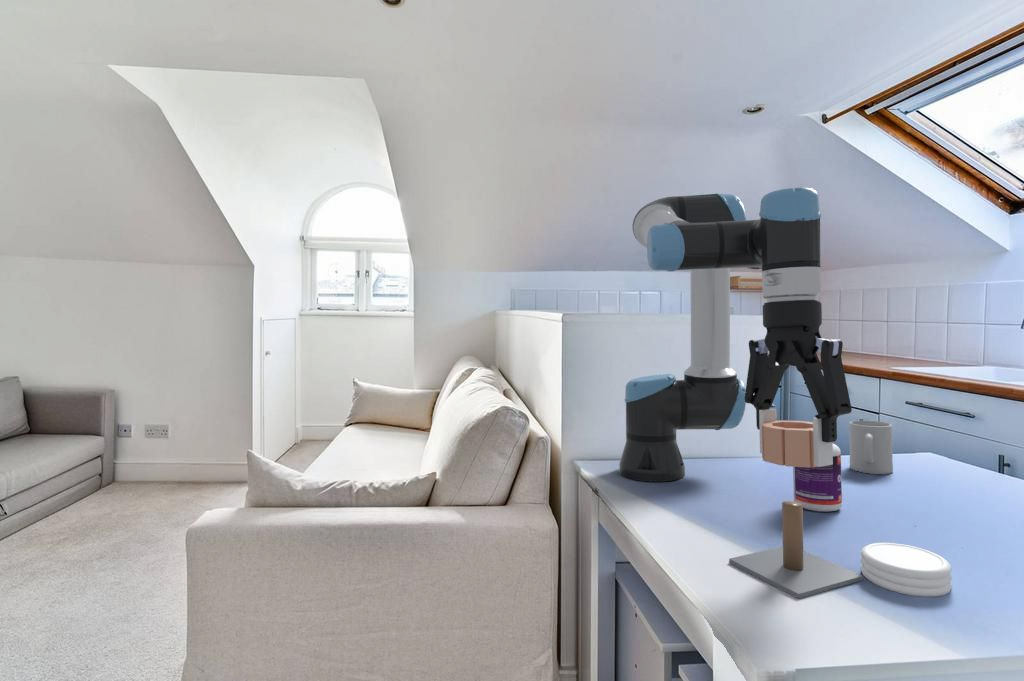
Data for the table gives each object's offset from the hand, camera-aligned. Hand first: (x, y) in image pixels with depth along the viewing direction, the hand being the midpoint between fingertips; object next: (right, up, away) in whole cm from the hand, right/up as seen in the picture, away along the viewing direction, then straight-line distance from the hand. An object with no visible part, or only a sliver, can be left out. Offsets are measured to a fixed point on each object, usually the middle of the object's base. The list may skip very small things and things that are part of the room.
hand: (794, 458), depth 79 cm
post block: (0, -16, -1) cm, 16 cm away
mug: (+43, -14, +49) cm, 67 cm away
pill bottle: (+18, -15, +26) cm, 35 cm away
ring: (0, 0, 0) cm, 0 cm away
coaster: (+13, -16, -4) cm, 21 cm away
